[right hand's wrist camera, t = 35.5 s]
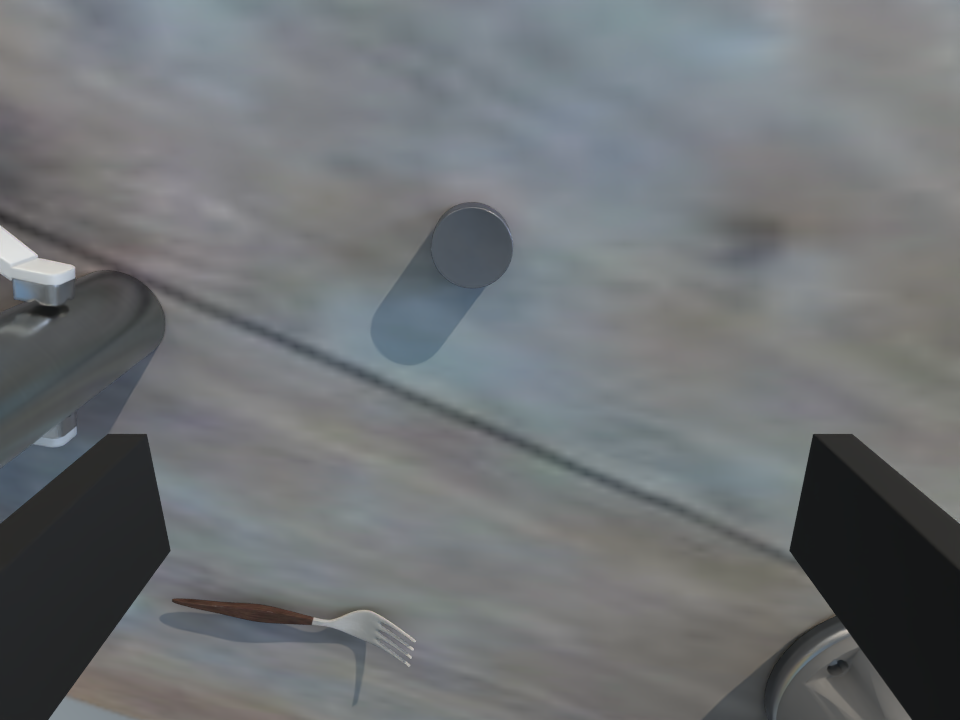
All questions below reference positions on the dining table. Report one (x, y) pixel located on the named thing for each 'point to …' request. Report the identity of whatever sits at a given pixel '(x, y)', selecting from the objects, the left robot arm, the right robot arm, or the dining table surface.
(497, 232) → the cap
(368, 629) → the fork
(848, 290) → the dining table surface
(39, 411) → the bottle
